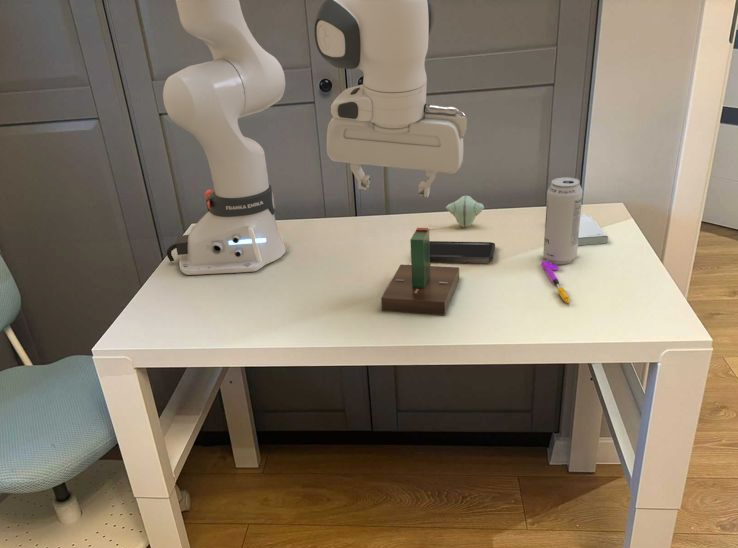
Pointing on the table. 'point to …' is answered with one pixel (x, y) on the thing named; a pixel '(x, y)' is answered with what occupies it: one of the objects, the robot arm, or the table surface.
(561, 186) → the energy drink can
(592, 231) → the hard drive
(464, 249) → the phone
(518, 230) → the table surface
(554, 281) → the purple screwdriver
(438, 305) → the dial panel
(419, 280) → the green tall block
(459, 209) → the mint green lobed ornament
